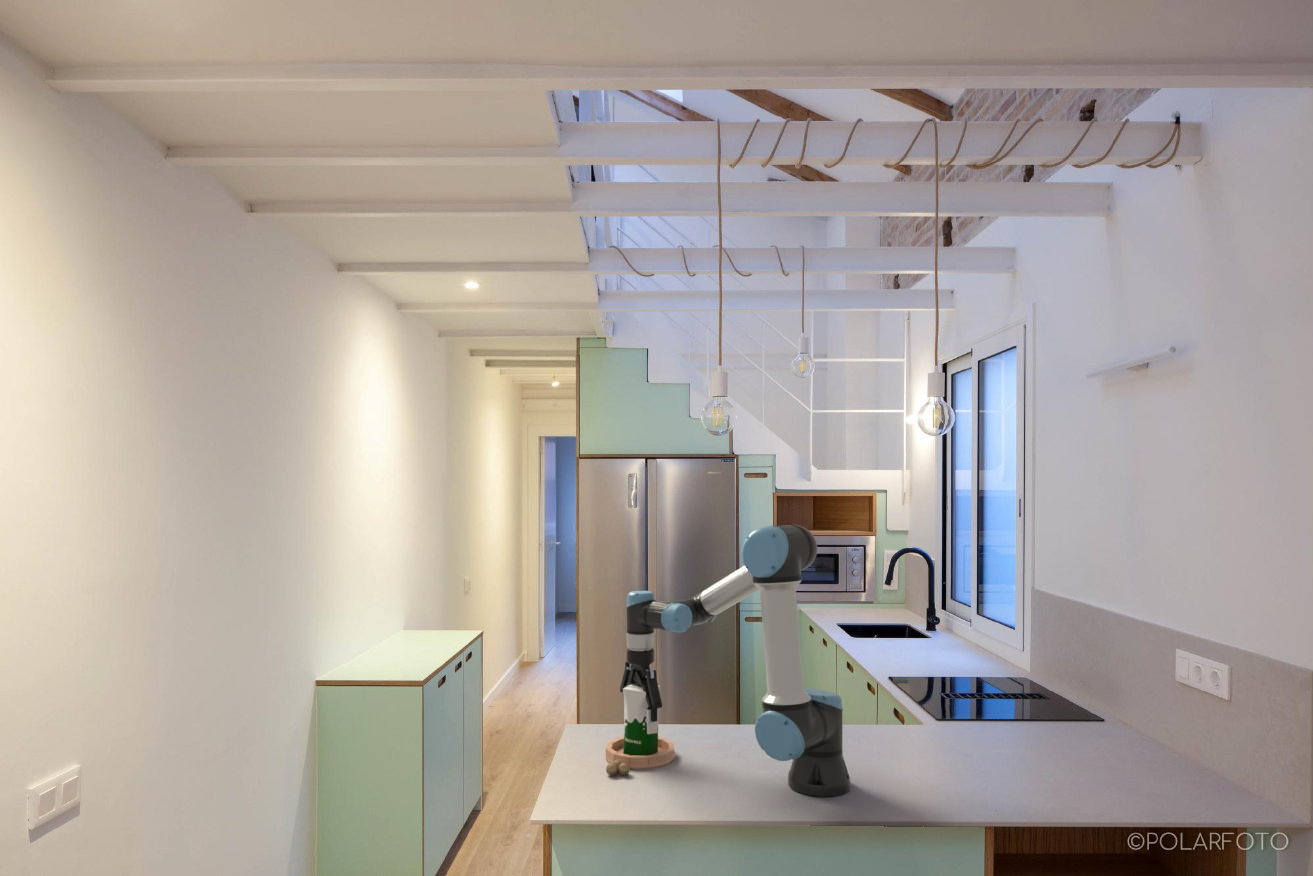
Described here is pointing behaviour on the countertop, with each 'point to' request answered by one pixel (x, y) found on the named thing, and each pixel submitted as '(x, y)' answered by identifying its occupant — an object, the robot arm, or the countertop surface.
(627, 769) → the bead pile
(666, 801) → the countertop surface
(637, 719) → the soya milk
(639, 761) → the tray
